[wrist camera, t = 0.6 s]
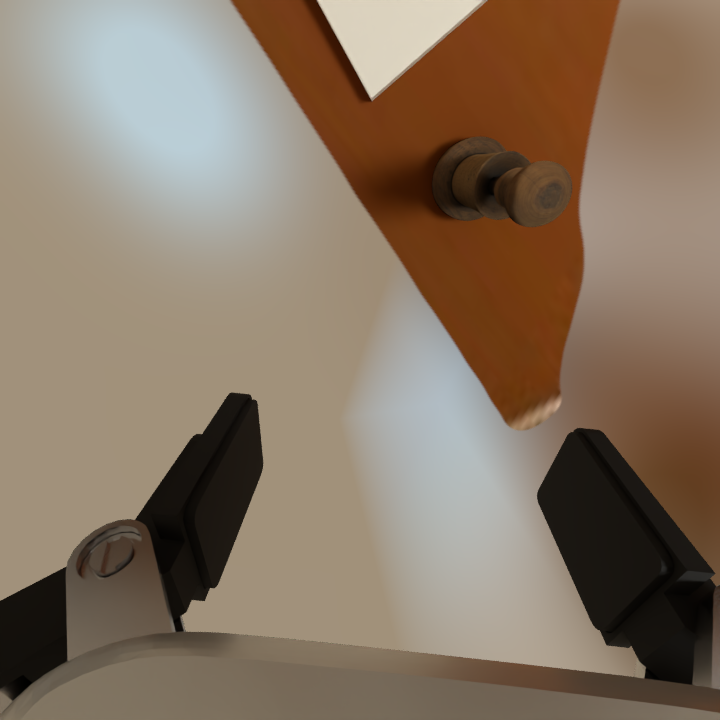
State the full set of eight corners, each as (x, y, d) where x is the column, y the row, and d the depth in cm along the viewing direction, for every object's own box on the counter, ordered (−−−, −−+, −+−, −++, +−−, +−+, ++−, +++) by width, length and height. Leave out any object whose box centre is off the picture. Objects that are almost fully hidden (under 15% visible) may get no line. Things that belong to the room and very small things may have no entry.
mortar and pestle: (465, 119, 29) (558, 73, 14) (519, 167, 31) (658, 173, 15) (417, 191, 32) (448, 219, 17) (469, 231, 34) (541, 291, 18)
